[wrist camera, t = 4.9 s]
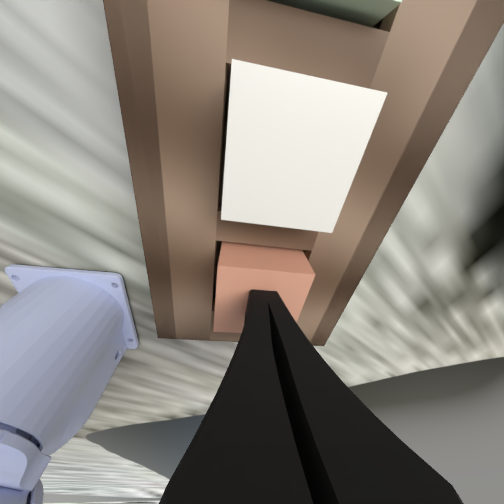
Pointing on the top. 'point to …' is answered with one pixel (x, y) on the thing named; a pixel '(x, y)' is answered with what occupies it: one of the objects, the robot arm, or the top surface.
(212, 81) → the frame
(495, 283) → the top surface
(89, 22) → the top surface
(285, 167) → the cream key
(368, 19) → the sage key
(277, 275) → the terracotta key
